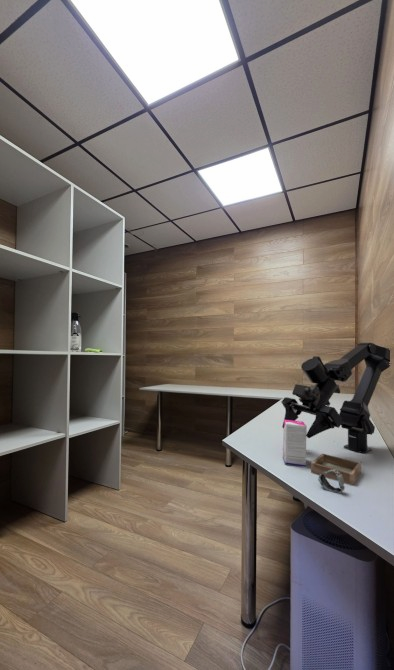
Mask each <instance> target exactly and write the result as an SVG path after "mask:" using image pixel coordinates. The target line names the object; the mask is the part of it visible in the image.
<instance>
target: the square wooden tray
mask: <svg viewBox="0 0 394 670" xmlns="http://www.w3.org/2000/svg"><path fill="white" fill-rule="evenodd" d="M333 469H335V470H338V471H339V472H340V474H341V475H342V477H343V480H344V484H347V485H349V486H353V485H354V484H355V483H356V481H357V479H358V478H359V476H361V474H362V463H361V462H356V461H353V460H349V459H346V458H341V457H337V456H334V455H329V454H325V453H321V454H320V455H319V456H317V458H316V459H314V460H312V462H310V473H311V474H314V475H317V476H319V475H320V474H321V473H322V472H324V471H329V470H333ZM324 477H325V478H326V479H327V478H328V479H331V480H334V481H337V482H338V479H337V477H336V476H335V474H334V472H329V473H327V474H324Z"/></svg>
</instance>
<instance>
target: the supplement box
mask: <svg viewBox="0 0 394 670" xmlns="http://www.w3.org/2000/svg"><path fill="white" fill-rule="evenodd" d="M283 422H284V429H283V441H282V442H283V443H282V460H283V462H284V465H286V466H296V467H304V468H305V467H306V466H307V436H306V435H307V432H308V430H307V425H306V423H304V421H301V420H295V421H292V420H284V419H283Z"/></svg>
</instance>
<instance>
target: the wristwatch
mask: <svg viewBox="0 0 394 670" xmlns="http://www.w3.org/2000/svg"><path fill="white" fill-rule="evenodd" d="M329 472H334V474H335V476H336V477H337V479H338V481H337V482H338V487H334V486H333V485H331V484H330V482H329V481H328V479H327V477H324V474H327V473H329ZM317 481H318V482H319V484H320V485H321V486H322V488H323V490H327V491H328V492H332V493H334V492H336V493H339V494H341V493H342V492H344V491H345V489H346V487H345V486H344V485H345V483H344V480H343V477H342V475H341V474H340V472H339V471H338V470H335V469H333V470H329V471H324V472H322V473H321V474H320V475H318V478H317Z"/></svg>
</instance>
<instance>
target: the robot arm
mask: <svg viewBox="0 0 394 670" xmlns="http://www.w3.org/2000/svg"><path fill="white" fill-rule="evenodd" d="M389 349H390V348H388V347H384V346H380V345H377V344H376V343H372V342H359V343H357V344H356V346H355V347H353V348H352V349H351V350H350V351H349V352H347V353H346V354H345V355H343V356H342V357H340V358H337V359H334V360H331V361H328V362H326V363H325V364H324V362H323V361H322V359H321V357H320V355H319V356H318V355H317V356H315V355H314V356H313V357H312V358H309V359H307V360H306V361H304V362H303V363H302V364H301V365H300V367H301V368H300V369H301V370H302V371H303V373H304V374H305V376H306V377H307V378H308V380H309V382H311V385H310V386H308V385H303V384H294V386H293V391H292V395H293V396H296V397H298V401H299V402H300V403H299V402H298V401H297V400H296V398H292V397H288V396H287V397H285V396H284V398H283V399H282V400H281V401H280V402H281V404H282V406H283V408H284V409H285V413H284V418H283V422H282V429H283V430H284V420H292V421H297V420H298V418H299V416H301V414H302V413H306V414H309V415H312V416H315V419H314V421H313V423H311V426H310V427H309V429H308V430H307V432H306V439H310V438H312V437H314V436H317V435H318V434H320V433H322V432H325V431H328V430H330V429H335V428H338V429H339V428H340V427H341V429H346V430H347V444H345V445H343V448H345V449H348V450H351V451H354V452H358V453H361V454H366V453H368V452H370V451H372V448H371V447H369V446H368V435H373V434H374V433H375V428H376V426H375V425H374V424H373V422H372V420H371V419H370V418H371V413H370V410H369V404H370V401H371V399H372V397H373V394H374V392H375V389H376V387H377V384H378V382H379V379H380V377H381V374H382V373H383V372H384V371H387V370H388V369H390V367H391V365H389V364H390V363H389V362H390V350H391V349H390V350H389ZM363 361H364V364H365V368H364V371H363V373H362V375H361V378H360V380H359V383H358V385H357V388H356V389H355V392H354V394H353V397H352V399H351V400H344V401H343V402H342V405H341V408H339V412H338V410H337V409H336V408H335V407H334V406H331V402H330V399H331V398H332V396H333V395H334V394H340V393H341V389H340V385H339V384H337V382H340V383H341V382H343V383H344V382H347V381H348V379H349V378H350V377H351V376H352V375H353V369H354V368H356V366H359V365H360V363H361V362H363ZM312 384H314V385H312Z"/></svg>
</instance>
